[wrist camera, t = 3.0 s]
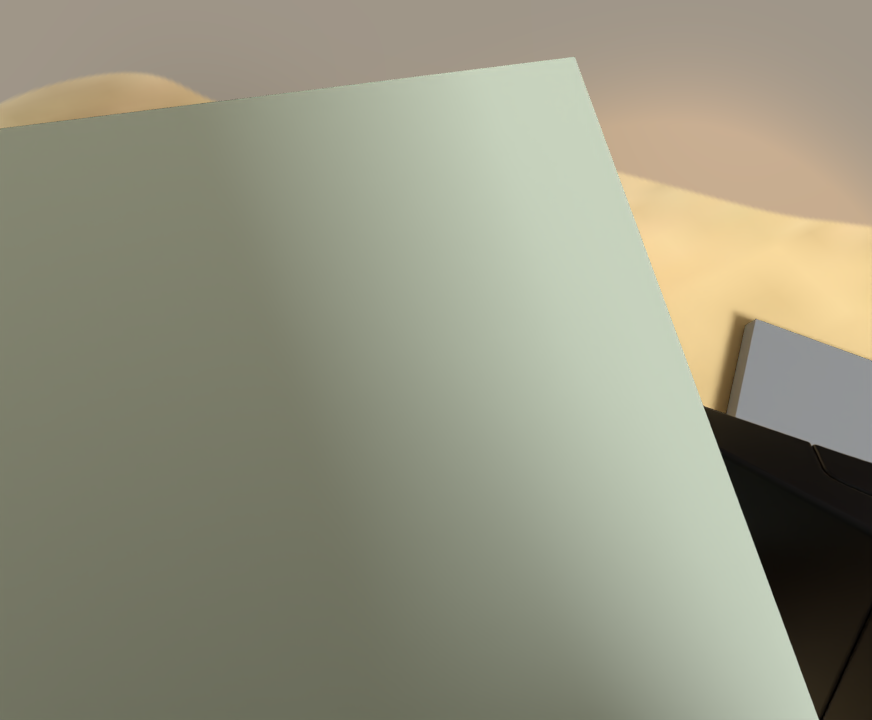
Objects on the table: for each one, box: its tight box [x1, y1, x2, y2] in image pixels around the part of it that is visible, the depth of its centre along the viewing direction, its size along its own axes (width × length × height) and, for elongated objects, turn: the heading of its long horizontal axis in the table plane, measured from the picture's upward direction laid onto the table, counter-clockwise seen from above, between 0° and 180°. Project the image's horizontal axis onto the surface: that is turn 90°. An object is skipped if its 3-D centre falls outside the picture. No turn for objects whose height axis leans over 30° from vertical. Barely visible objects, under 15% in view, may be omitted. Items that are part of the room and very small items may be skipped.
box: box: [0, 57, 819, 720], centre depth 9 cm, size 5×5×13 cm
